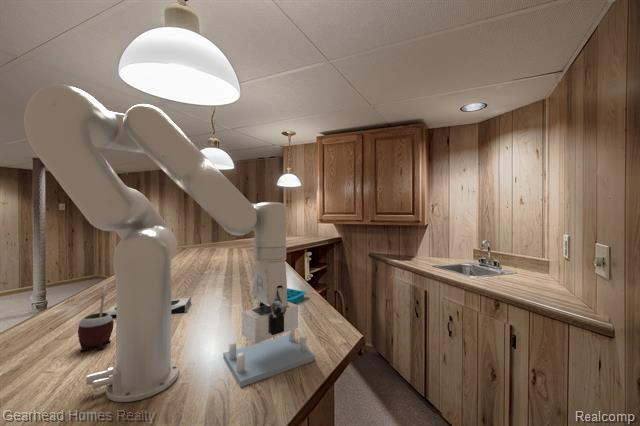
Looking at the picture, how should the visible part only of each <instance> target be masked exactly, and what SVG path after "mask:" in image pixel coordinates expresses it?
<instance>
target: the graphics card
mask: <svg viewBox="0 0 640 426" xmlns="http://www.w3.org/2000/svg"><path fill="white" fill-rule="evenodd" d="M171 302H172V303H171V315H174V314H175V315H176V314H188V313H189V312H188V311H189V307H190V306H191V305H192V297H184V298H182V297H181V298H177V299H171ZM106 313H108V314H110V315H111V316H112V319H117V312H116V304H115V305H113V306H111V307H110V308H109V309H108V310H107V312H106Z"/></svg>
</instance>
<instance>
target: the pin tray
mask: <svg viewBox="0 0 640 426" xmlns="http://www.w3.org/2000/svg"><path fill="white" fill-rule="evenodd" d="M295 334H296V328H295V329H293V330H290V331H288V334H287V335H284V336H280V337H276V338H271V339H269V340H264V341H262V342H259V343H256V344H255V343H253V344H251V345H247V346H244V347H240V348H237V342H236V341H231V342H229V344H228V345H229V346H228V349H229V350H228V351H225V352H223V355H222V356H223V360H224V362H225V363H226V365H227V366H228V368H229V370H230V372H231V374H232V376H233V377H234V379H235V380H236V382H237V384H238V386H239V387H240V388H242V387H245V386H249V385H250V384H253V383H256V382H259V381H262V380H264V379H267V378H270V377H273V376H276V375H278V374H279V375H280V374H281V373H284V372H287V371H289V370H292V369H295V368H298V367H301V366H304V365H306V364H308V363H309V364H310V363H311V362H312V363H313V362H314V361H316V355H315V354H313V353H312V351H310V350H309V349H307V335H306V334H302V335H301V334H300V337H299V341H298V340H297V339H295V337H296V335H295Z"/></svg>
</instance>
